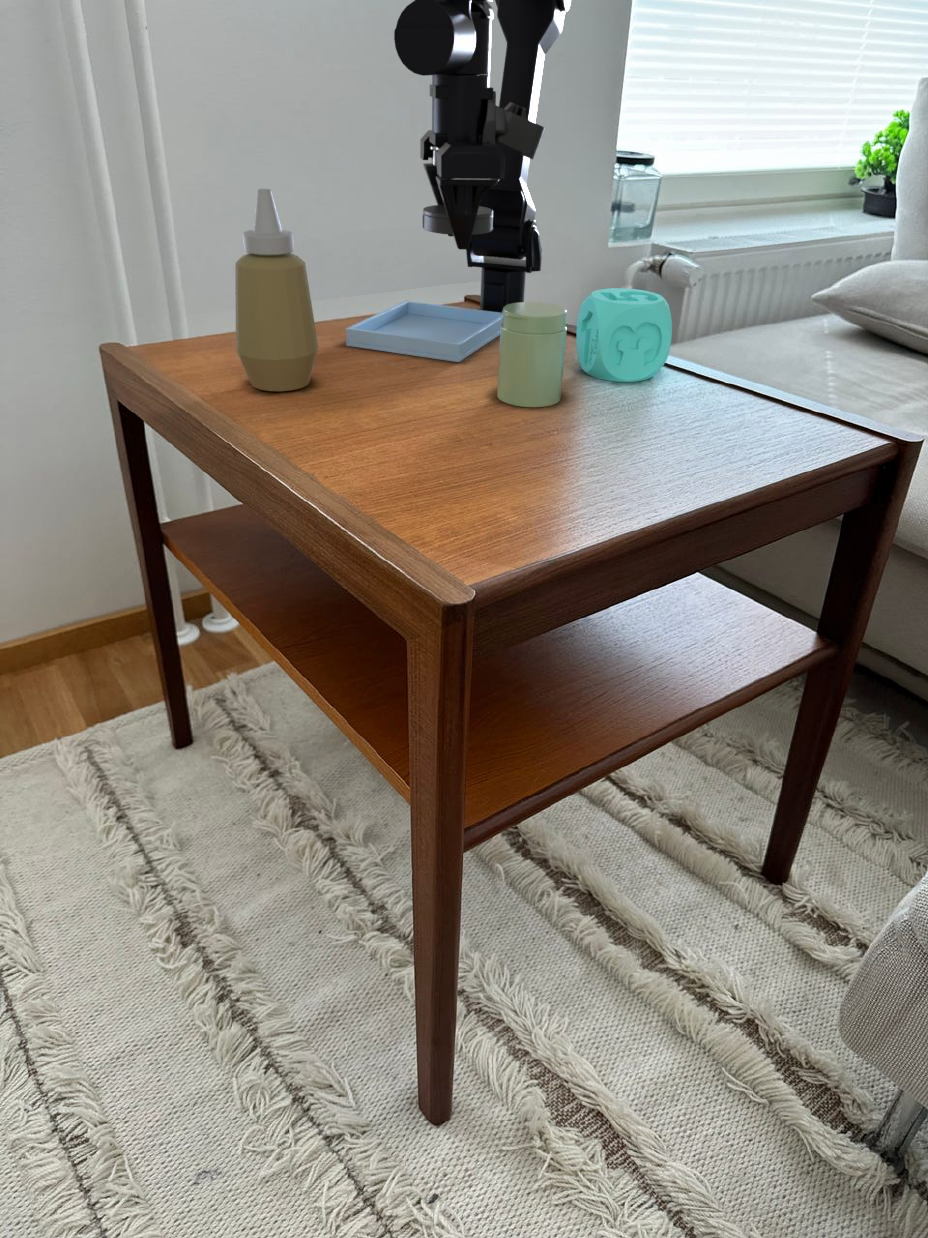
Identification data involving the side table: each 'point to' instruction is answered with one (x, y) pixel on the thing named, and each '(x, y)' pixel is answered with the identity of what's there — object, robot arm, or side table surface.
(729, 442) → the side table surface
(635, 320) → the decorative dice
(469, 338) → the tray
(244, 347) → the squeeze bottle
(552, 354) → the jar
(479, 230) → the lid
